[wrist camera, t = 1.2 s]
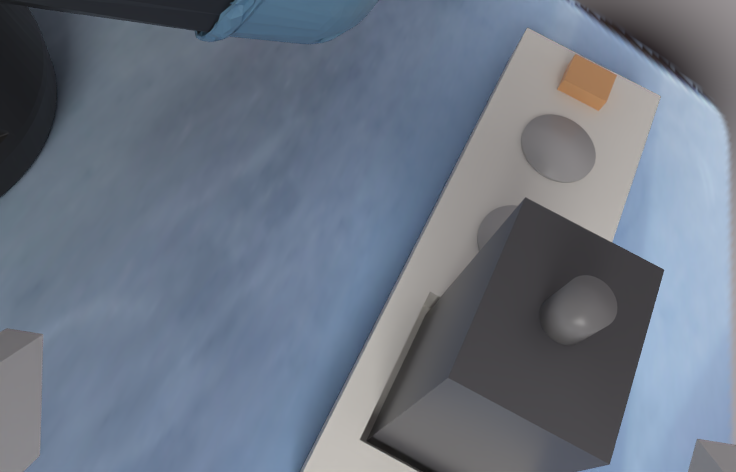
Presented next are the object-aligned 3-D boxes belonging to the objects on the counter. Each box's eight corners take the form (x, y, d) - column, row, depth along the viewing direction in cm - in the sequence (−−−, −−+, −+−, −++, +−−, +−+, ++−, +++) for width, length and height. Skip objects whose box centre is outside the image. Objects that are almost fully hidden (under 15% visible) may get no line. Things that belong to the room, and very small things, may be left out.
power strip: (470, 593, 26) (502, 599, 23) (288, 493, 26) (296, 486, 23) (635, 123, 37) (669, 86, 35) (509, 58, 38) (533, 17, 35)
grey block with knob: (466, 495, 26) (643, 457, 15) (366, 440, 26) (467, 362, 15) (516, 364, 29) (696, 249, 18) (425, 315, 29) (547, 171, 18)
